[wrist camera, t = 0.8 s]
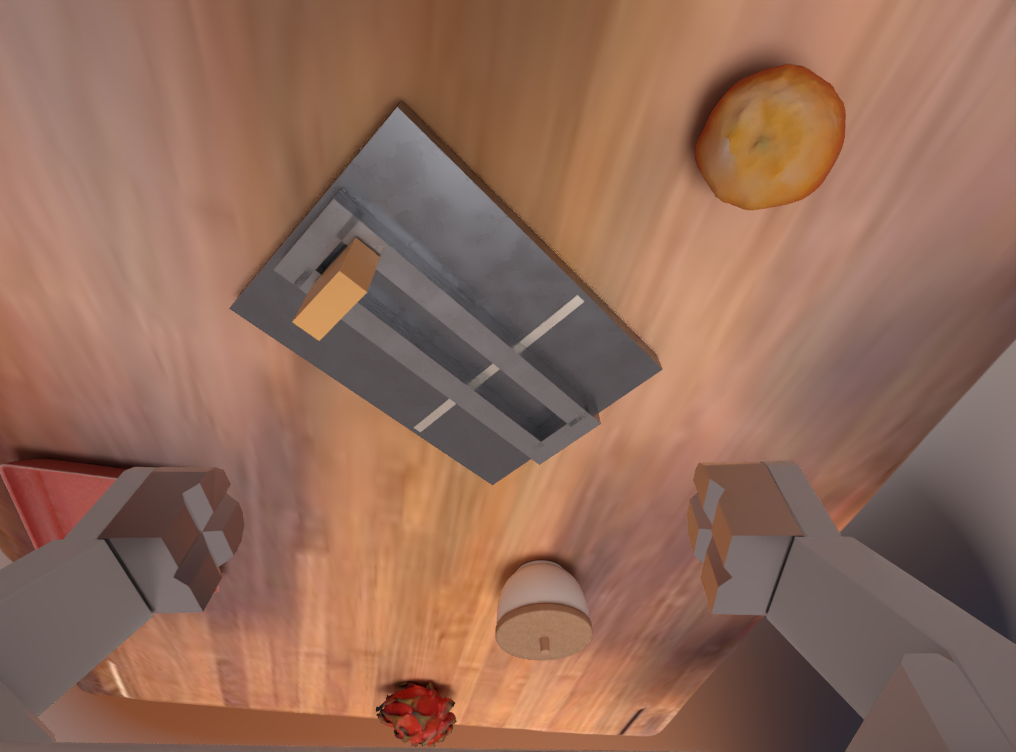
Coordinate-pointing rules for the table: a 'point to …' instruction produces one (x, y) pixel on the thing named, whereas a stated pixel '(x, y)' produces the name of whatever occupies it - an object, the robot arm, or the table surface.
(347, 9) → the table surface
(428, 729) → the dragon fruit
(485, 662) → the table surface
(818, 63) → the table surface
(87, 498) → the plant saucer
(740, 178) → the fruit
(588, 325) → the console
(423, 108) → the table surface
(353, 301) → the block
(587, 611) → the lidded jar
